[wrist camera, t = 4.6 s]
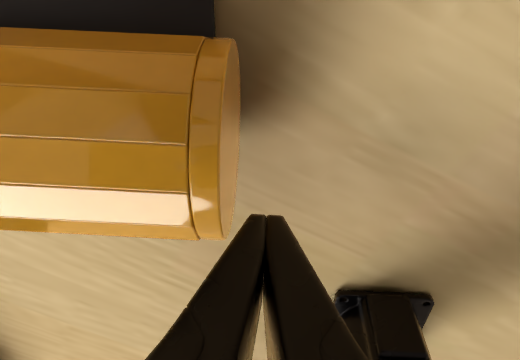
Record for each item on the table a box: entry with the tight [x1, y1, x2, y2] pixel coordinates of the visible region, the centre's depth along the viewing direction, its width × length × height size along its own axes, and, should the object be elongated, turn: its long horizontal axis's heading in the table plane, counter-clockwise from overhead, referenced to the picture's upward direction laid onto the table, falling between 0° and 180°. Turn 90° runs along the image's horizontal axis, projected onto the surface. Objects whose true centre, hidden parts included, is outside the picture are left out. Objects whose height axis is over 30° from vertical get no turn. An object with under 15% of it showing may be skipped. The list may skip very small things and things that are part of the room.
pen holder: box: [0, 27, 240, 240], centre depth 14 cm, size 7×7×11 cm
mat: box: [0, 0, 215, 37], centre depth 17 cm, size 18×16×1 cm
